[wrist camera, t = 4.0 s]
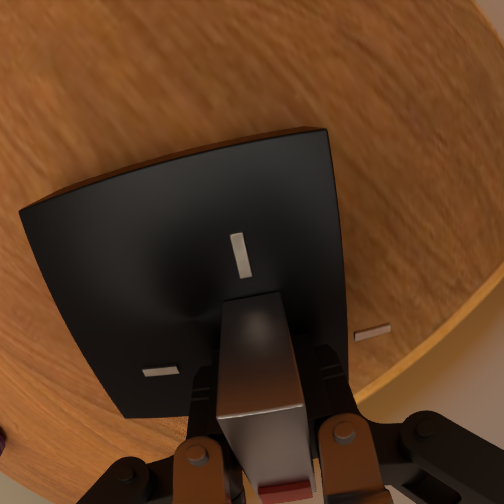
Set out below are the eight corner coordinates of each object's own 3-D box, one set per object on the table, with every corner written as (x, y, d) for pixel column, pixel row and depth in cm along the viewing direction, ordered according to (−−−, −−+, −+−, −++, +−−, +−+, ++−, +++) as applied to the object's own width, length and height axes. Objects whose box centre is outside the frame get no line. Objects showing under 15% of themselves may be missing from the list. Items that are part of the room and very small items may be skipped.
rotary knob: (222, 300, 10) (214, 427, 5) (279, 290, 10) (307, 413, 5) (253, 402, 12) (260, 507, 7) (298, 394, 12) (317, 498, 7)
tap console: (347, 120, 11) (382, 122, 8) (363, 360, 15) (382, 405, 12) (58, 189, 11) (14, 212, 8) (149, 395, 16) (138, 440, 13)
